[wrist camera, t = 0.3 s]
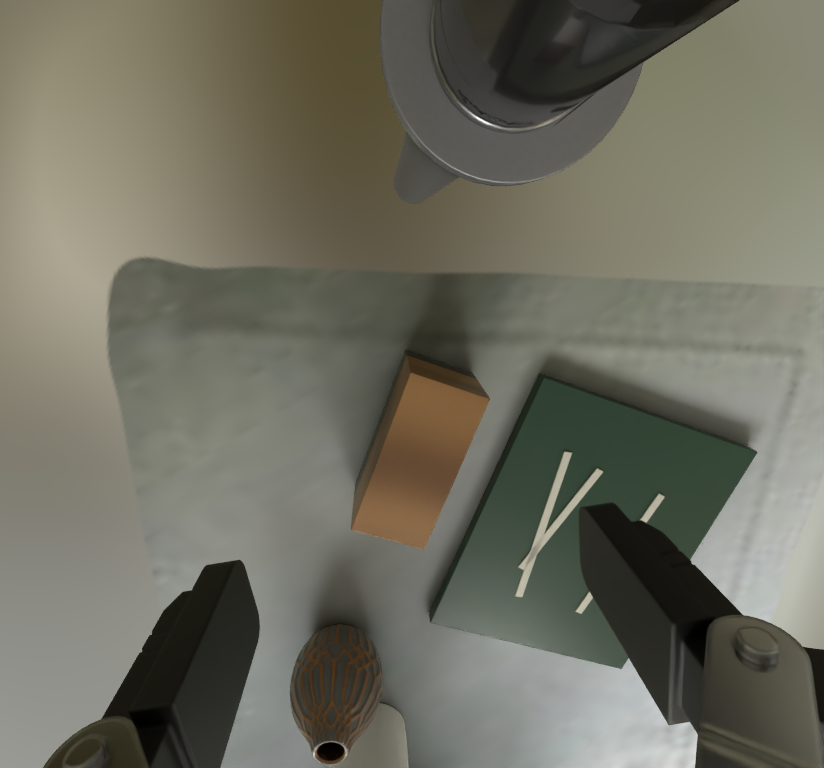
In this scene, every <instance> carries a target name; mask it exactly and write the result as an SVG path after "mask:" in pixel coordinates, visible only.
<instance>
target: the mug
mask: <svg viewBox="0 0 824 768" xmlns="http://www.w3.org/2000/svg"><path fill="white" fill-rule="evenodd" d="M331 768H409V766H408V751H407V740H406V729H405V722H404V719H403V717H402V716H401V714H400V713H399V712H398V711H397V710H396V709H394V708H393V707H391V706H389V705H386V704H382V703H379V705H378V709H377V711H376V714H375V716H374V718H373V720H372V722H371V724H370V725H369V727H368V728H367V729H366V731H365V732H364V733H363V734H362V735H361V736H360V738H359V739H358V740H357V741H356V742H355V743H354V744H353V746H352V748H351V750H350V752H349V754H348V756H347V758H346V759H345V760H344V761H342V762H341V763H338V764H335V765H331Z"/></svg>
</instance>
